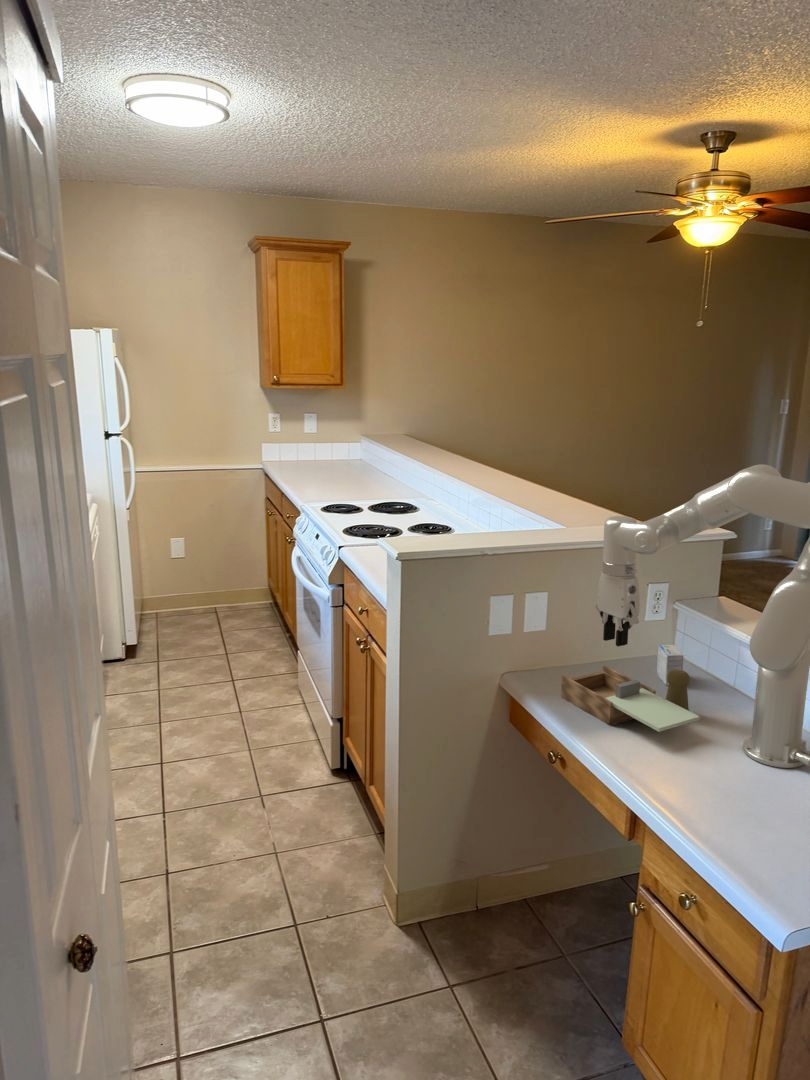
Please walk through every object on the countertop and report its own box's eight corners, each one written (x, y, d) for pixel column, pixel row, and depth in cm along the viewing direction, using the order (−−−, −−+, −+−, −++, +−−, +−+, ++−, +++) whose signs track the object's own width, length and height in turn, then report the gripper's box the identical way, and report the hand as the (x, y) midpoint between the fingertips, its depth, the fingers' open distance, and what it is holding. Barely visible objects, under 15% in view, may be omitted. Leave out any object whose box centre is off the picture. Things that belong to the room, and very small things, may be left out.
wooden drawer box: (654, 713, 182) (655, 690, 181) (609, 725, 176) (610, 702, 175) (603, 686, 198) (604, 665, 197) (561, 697, 192) (561, 675, 191)
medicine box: (682, 686, 198) (684, 655, 196) (665, 686, 198) (667, 655, 196) (672, 674, 205) (674, 644, 204) (656, 674, 206) (657, 644, 204)
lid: (699, 719, 168) (700, 704, 168) (658, 731, 163) (659, 715, 162) (642, 691, 184) (643, 676, 183) (603, 701, 179) (604, 686, 178)
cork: (657, 711, 183) (659, 669, 181) (677, 707, 185) (680, 665, 183) (674, 721, 178) (677, 678, 175) (694, 717, 180) (698, 674, 177)
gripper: (656, 574, 172) (652, 650, 176) (607, 559, 187) (603, 629, 191) (631, 579, 169) (627, 656, 173) (583, 563, 183) (580, 634, 187)
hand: (615, 641), depth 182 cm, fingers open, 3 cm apart
